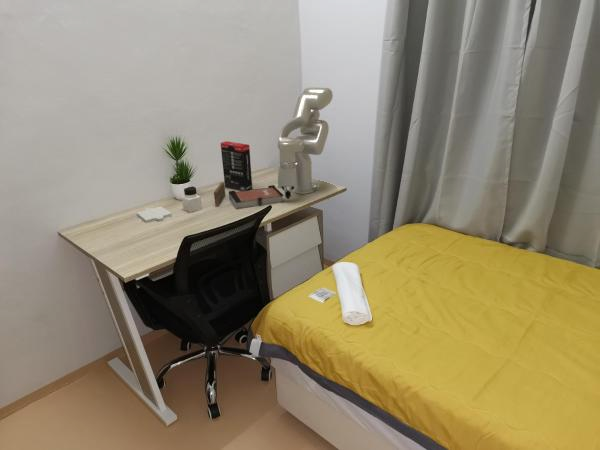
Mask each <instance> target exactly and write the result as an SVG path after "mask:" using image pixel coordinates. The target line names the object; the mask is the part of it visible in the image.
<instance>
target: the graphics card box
mask: <svg viewBox="0 0 600 450" xmlns="http://www.w3.org/2000/svg"><path fill="white" fill-rule="evenodd" d="M250 149H251V148H250V144H246V143H239V142H235V141H234V142H233V141H223V142H220V153H221V163H222V172H223V179H224V181H223V182H224V186H225V188H229V189H233V190H235V191H237V190H238V191H247V190H253V178H252V166H251V151H250Z"/></svg>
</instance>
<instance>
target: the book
mask: <svg viewBox="0 0 600 450" xmlns="http://www.w3.org/2000/svg"><path fill="white" fill-rule="evenodd" d="M283 197H284V194H283V193H282V192H281V191H280V190H279V189H278V187H276V186H275V185H274V184H272V185H268V187H262V188H256V189H254V188H253V189H251V190H247V191H240V190H238V191H236V190H228V198H229V201H230V202H231V203H232V204H231V205H233V206H234V208H235V209H236V210H240V209H241V210H242V209H245V208H246V209H247V208H254V207H261V206H266V205H274V204H279V203H284V200H283Z"/></svg>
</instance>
